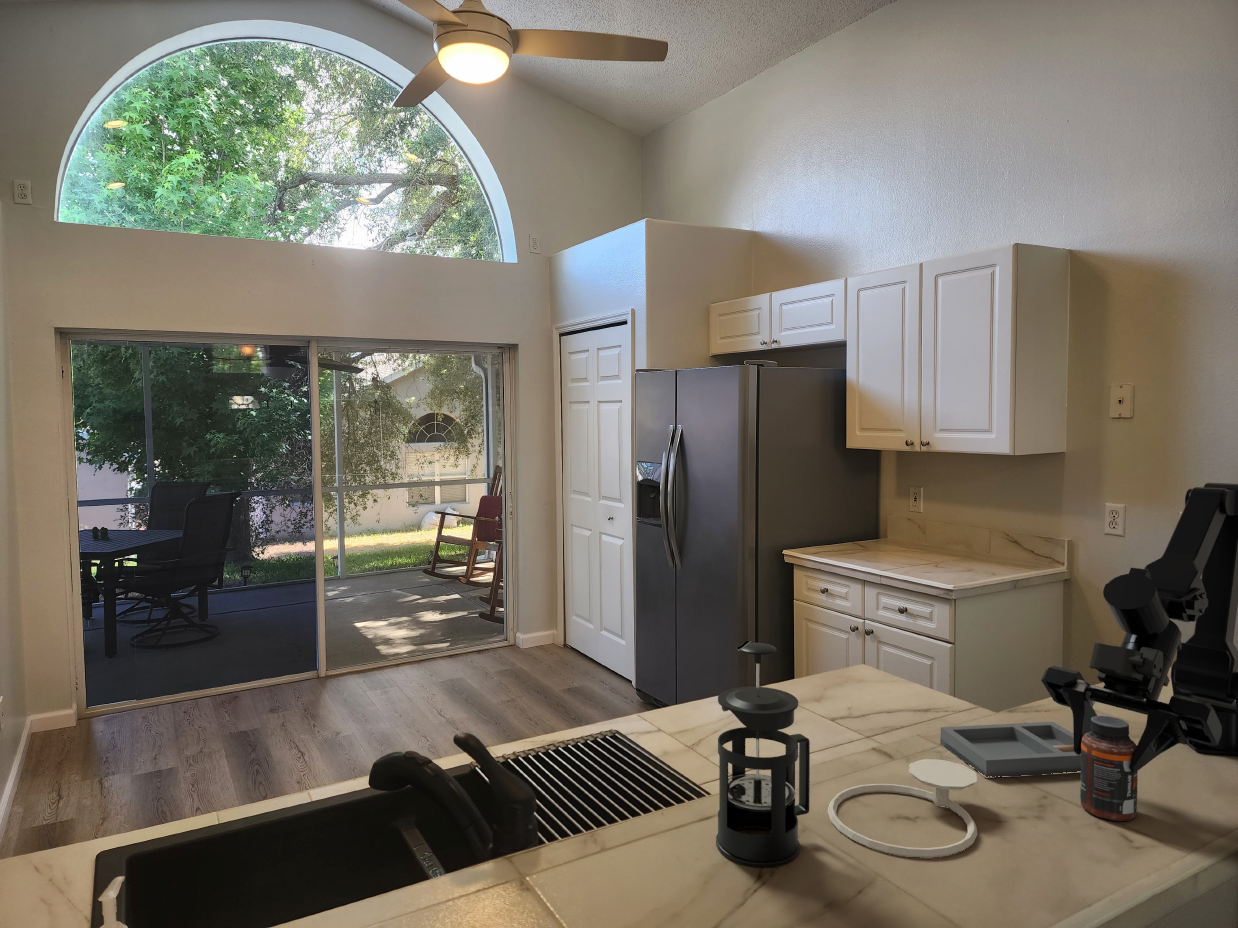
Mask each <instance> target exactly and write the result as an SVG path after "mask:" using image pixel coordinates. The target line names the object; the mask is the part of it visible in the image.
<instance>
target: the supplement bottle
mask: <svg viewBox="0 0 1238 928" xmlns="http://www.w3.org/2000/svg"><path fill="white" fill-rule="evenodd" d="M1090 728H1091V729H1092V730H1091V731H1090V732H1088V733H1086V734H1084V736H1083V737H1082V741H1081V773H1080V785H1079V786H1080V797H1079V798H1080V805H1081V807H1082V808H1083V809H1084V810H1086V811H1087V812H1088V813H1090V814H1092V816H1093V815H1094V816H1096V817H1097V818H1101V819H1105V820H1108V821H1109V820H1110V821H1115V822H1117V821H1119V822H1121V821H1122V822H1127V821H1131V820H1133V819H1134V818H1136V816H1137V809H1138V780H1139V779H1138V773H1139V770H1138V771H1137V772H1135V773H1134V772H1131V770H1130V768H1129V766H1130V763H1131V759H1132V756H1133V753H1134V751H1135V749H1136V747H1137V745H1138V744H1136V743H1135V742H1134V741H1133V740H1132V739H1131V738H1130V725H1129V723H1128V721H1126V720H1124V719H1121V718H1118V717H1115V716H1114V717H1113V716H1109V715H1106V716H1105V715H1097V716H1094V717H1092V718H1091V725H1090Z"/></svg>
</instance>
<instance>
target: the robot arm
mask: <svg viewBox="0 0 1238 928" xmlns="http://www.w3.org/2000/svg"><path fill="white" fill-rule="evenodd" d="M1102 595H1103V598H1104V600H1105V602H1106V603H1107V606H1108V607H1109V609H1110V611H1111V614H1112V615H1113V618H1114V620H1115V622H1116V623H1117V626H1118V628H1120V629H1121V630H1122V631H1124V633H1125V634H1124V636H1123V638H1122V641H1121V643H1120V646H1117V645H1111V644H1105V643H1100V642H1095V643H1094V645H1093V650H1092V654H1091V657H1090V662H1089V668H1090V669H1092V670H1093V669H1094V670H1096V671H1098V672H1097V674H1096V677H1097V679H1098V681H1099V682H1100V683H1104V685H1103V687H1101V686H1096V685H1093V684H1090V683H1089V682H1087V681H1086V680H1085V679H1084V677H1083V675H1082V673H1081V672H1080V671H1078V670H1075V669H1074V670H1073V669H1070V668H1065V667H1060V666H1056V665H1053V666H1052V665H1051V666H1049V667H1048V668H1046V669H1045V670H1044V673H1043V674H1042V677H1041V679H1040V681H1041V682H1042V684H1043V685H1044V687H1045V689H1046V691H1047V692H1048V694H1049V695H1050V697H1051V698H1052V701H1054V702H1055V703H1056V704H1058V705H1061V706H1065V707H1067V708H1070V710H1071V712H1072V720H1073V721H1072V725H1073V729H1072V730H1073V732H1072V733H1073V734H1074V751H1075V753H1076V754H1077V755H1080V754H1081V741H1082V737H1083V736H1084V734H1086V733H1088V732H1090V731H1091V730H1092V729H1091V728H1090V725H1091V718H1092V717H1094V716H1098V714H1097V712H1096V710H1095V709H1094V705H1095V704H1096V703H1100V704H1102V705H1103V704H1104V705H1107V706H1112V707H1115V708H1118V709H1119V708H1120V709H1122V710H1125V711H1130V712H1134V713H1139V714H1142V715H1146V716H1147V717H1146V723H1145V724H1146V725H1145V727H1144V730H1143V733H1142V735H1141V736H1140V739H1139V740H1138V743H1137V744H1136V745H1137V747H1136V749H1135V751H1134V753H1133V756H1132V759H1131V763H1130V766H1129V768H1130V770H1131V772H1134V773H1135V772H1137V771H1138V772H1139V771H1140V770H1141V769H1142V768H1143V767H1145V766H1146V765H1148V764H1149V763H1150V762H1152V761H1153V760H1154V759H1156V758H1157V757H1159V755H1161V754H1163V753H1164V752H1166V751H1168V750H1171V748H1173V747H1175V746H1176V745H1178V744H1181V745H1188V746H1189V747H1190V748H1191V749H1193V750H1194V751H1195V752H1198V753H1203V754H1204V753H1206V754H1217V755H1231V756H1238V648H1237V647H1236V645H1235V643H1234V638H1235V637H1234V636H1235V629H1236V623H1237V622H1236V621H1237V620H1236V619H1237V614H1238V483H1230V482H1229V483H1225V482H1206V483H1205V484H1204V486H1203V487H1202V486H1195V487H1191V488H1190V487H1189V488H1188V490H1187V491H1186V493H1185V497H1184V507H1183V510H1182V513H1181V515H1180V516H1179V519H1178V521H1177V524H1176V525H1175V527H1174V530H1173V532H1172V535H1171V536H1170V539H1169V541H1168V544H1167V545H1166V547H1165V550H1164V552H1163V554H1162V556H1161V557H1160V558H1157V559H1155V560H1154V561H1152V562H1150V563H1148V564H1146V565H1145V567H1144V568H1138V567H1130V568H1129V570H1128V573H1125V574H1122V575H1118V576H1116V577H1113V578H1112V579H1111V580H1109V581H1108V583H1106V584H1104V586H1103V591H1102ZM1174 621H1178V622H1183V623H1190V622H1195V623H1194V624H1195V625H1194V633H1193V635H1191V637H1190V638H1188V639H1187V641H1185V642H1182V640H1181V639H1182V636H1183V634H1182V631H1181V630H1180V627H1179V626H1178V624H1176V622H1174ZM1175 656H1176V659H1175V660H1174V658H1175ZM1170 668H1171V670H1170ZM1169 671H1170V678H1171V679H1170V678H1169V675H1168V674H1169ZM1170 682H1171V686H1172V695H1171V696H1170V699H1169V702H1168V703H1166V702H1163V701H1159V698H1160V696H1161V693H1162V690H1163V687H1168V686H1169V683H1170Z"/></svg>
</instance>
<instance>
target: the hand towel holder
mask: <svg viewBox="0 0 1238 928" xmlns="http://www.w3.org/2000/svg"><path fill="white" fill-rule="evenodd" d="M908 773H909V774H910V775H911V776H912V777H913V778H914V779H915V780H917V781H918V782H920V783H921V784H923V785H926V786H929V787H933V788H935V792H932V791H930V790H926V789H921V788H919V787H914V786H909V785H901V784H894V783H890V784H889V783H870V784H860V785H856V786H852V787H848V788H846V789H844V790H842V791H840V792H838V793H837V794H836V795H835V796H834V797H833V798H832V799H831V800H830V802H829V805H828V809H827V814H828V817H829V821H830V822H831V824H832V825H833V826H834V828H836V830H837V831H838V832H840V833H841V834H842V835H844V836H845V837H847V838H848V837H849V838H850V839H849V838H848V839H849V840H851V839H852V840H854V841H853V842H855V841H856V842H855V843H857V842H858V843H857V844H859V843H860V844H859V845H861V844H863V845H865V846H867V847H866V848H868V847H869V848H868V849H870V848H872V849H871V850H874V849H875V850H874V851H877V850H879V851H878V852H880V851H882V852H881V853H883V852H885V853H884V854H887V853H889V854H888V855H891V854H894V855H893V856H897V855H898V856H899V857H903V856H905V857H904V858H908V857H920V858H919V859H934V858H933V857H939V858H943V857H942V856H948V857H950V856H949V855H951V856H953V855H952V854H954V855H956V854H955V853H958V852H961V851H963V850H964V851H966V850H967V849H968V848H970V847H971V846H972V845H973V844H974V842H975V840H976V838H977V836H978V828H977V824H976V822H975V821H974V819H973V818H972V816H971V815H970V814H969V812H968V811H967V810H966V809H964V808H963V807H962V806H960V805H959V804H958V803H957V802H954V801H953V800H951V799H950V796H949V795H950V794H949V793H950V790H953V791H955V790H957V791H960V790H961V791H962V790H964V789H967V788H969V787H971V786H973V785H975V784H976V783H977V782H978V777H977V776H978V775H977V772H976V771H974V770H973V769H970V768H969V767H967V766H966V765H964V764H961V763H957V762H952V761H950V760H949V761H948V760H945V759H925V758H923V759H920V760H919V759H918V760H917V761H916V760H915V761H914V762H911V763H909V766H908ZM871 793H872V794H873V793H892V794H901V795H907V796H912V797H916V798H919V799H920V798H921V799H923V798H924V799H923V800H927V799H928V800H927V801H930V800H931V801H930V802H932V801H934V802H933V803H934V805H935V804H936V805H938V806H945V807H948V808H950V809H952V810H954V811H955V812H956V813H957V814H958V815H957V814H956V813H955V812H954V813H955V814H956V815H957V816H959V817H960V816H961V817H962V818H963V819H964V820H963V819H962V818H961V817H960V818H961V819H962V820H963V822H965V824H966V826H967V827H966V828H967V829H966V830H967V833H966V835H965V837H964V838H963V839H962V840H960V841H958V842H955V843H952V844H949V845H945V846H936V847H935V846H934V847H927V848H926V847H925V848H924V847H908V846H907V847H906V846H901V845H897V844H896V845H895V844H889V843H886V842H882V841H879V840H874V839H871V838H869V837H867V836H865V835H862V834H860V833H858V832H857V831H854V830H853V829H851V828H850V827H848V826H846V825H845V824H844V823H843V822H842V821H841V820H840V819H839V816H838V814H837V810H838V806H839V804H841V803H842V802H843V801H845V800H847V799H849V798H850V797H854V796H859V795H861V794H862V795H863V794H871ZM936 805H935V806H936ZM938 806H937V807H938ZM948 808H947V809H948ZM950 809H949V810H950ZM852 840H851V841H852ZM863 845H862V846H863ZM865 846H864V847H865ZM969 846H970V847H969ZM966 848H967V849H966ZM965 849H966V850H965ZM964 851H963V852H964ZM961 853H962V852H961ZM958 854H959V853H958ZM898 856H897V857H898ZM922 857H924V858H922Z"/></svg>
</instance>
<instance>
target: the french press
mask: <svg viewBox="0 0 1238 928" xmlns="http://www.w3.org/2000/svg"><path fill="white" fill-rule="evenodd" d="M739 651H741V652H742V653H744V654H749V655H753V663H754V664H755V686H739V687H733V688H729V689H726V690H723V691H722V692H720V693H719V694H718V695H717V703H718V704H719V706H721V711H723V712H728V711H730V712H731V713H732V714H733V715H734V716H735V717H736V719H738V721H739V722H740V723H741V724H743V726H742V727H736V728H731V729H728V730H726V731H724V732H722V733H721V734H720V735H718V738H717V754H718V756H719V757H718V758H719V765H718V766H719V774H718V775H719V781H718V782H719V784H718V785H719V789H718V790H719V791H718V792H719V797H718V798H719V810H718V811H717V834H716V836H715V844H716V847H717V850H718V851H719V853H721V854H722V855H723V856H724V857H725V858H727V859H729V860H730V861H732V862H735V863H737V864H739V865H743V866H746V867H752V868H761V869H762V868H765V869H766V868H777V867H781V866H785V865H787V864H790V863H791V862H793V861H794V860H796V859H797V857H798V855H799V854H800V850H801V845H800V841H799V820H798V816H799V817H800V816H803V815H806V814H809V813H810V776H811V775H810V774H811V773H810V770H811V769H810V764H811V763H810V761H811V760H810V759H811V758H810V753H811V752H810V751H811V749H810V748H811V747H810V744H811V743H810V741H811V740H810V739H809V738H808V737H806V736H805V735H803V734H801V733H794V734H789V733H786V732H784V731H781V730H785V729H787V728H789V727H790V726H792V725H793V724H794V721H795V710H796V709H798V707H799V699H797V697H796V696H794V695H793V694H791V693H789V692H787V691H785V690H782V689H777V688H773V687H765V686H760V664H761V665H762V662H763V655H765V656H766V655H771V654H775V653H776V652H777V651H778V650H777V647H775V646H774V645H771V644H769V643H764V642H747V643H746V644H745V645H744V646H743V647H741V648H739ZM746 739H755V756H750V755H749V756H748V755H746ZM760 739H761V740H762V739H763V740H768V741H769V740H770V741H774V742H777V743H781V745H784V746H785V754H782V755H779V756H778V755H776V756H770V757H769V756H768V757H767V756H766V757H765V756H764V757H762V756H760ZM729 742H731V750H730V749H727V748H726V747H725V746H724V745H725V744H727V743H729ZM797 760H798V804H796V763H797ZM729 764H730V765H731V777H729ZM746 769H748V770H755V773H746ZM769 770H770V775H768V774H760V771H769ZM746 828H748V829H749V828H753V829H754V828H756V829H757V828H759V829H763V830H765V829H766V830H769V831H770V835H752V834H747V833H743V832H740V831H738V830H742V829H746Z"/></svg>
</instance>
